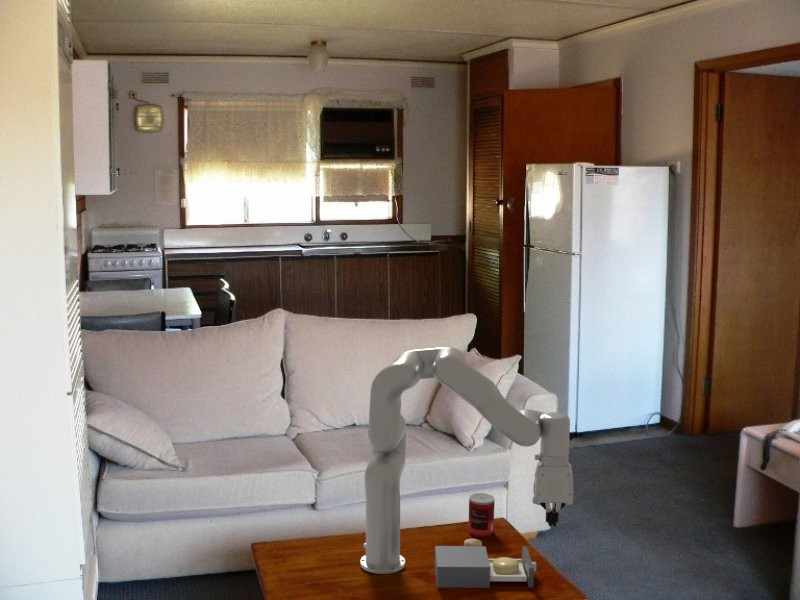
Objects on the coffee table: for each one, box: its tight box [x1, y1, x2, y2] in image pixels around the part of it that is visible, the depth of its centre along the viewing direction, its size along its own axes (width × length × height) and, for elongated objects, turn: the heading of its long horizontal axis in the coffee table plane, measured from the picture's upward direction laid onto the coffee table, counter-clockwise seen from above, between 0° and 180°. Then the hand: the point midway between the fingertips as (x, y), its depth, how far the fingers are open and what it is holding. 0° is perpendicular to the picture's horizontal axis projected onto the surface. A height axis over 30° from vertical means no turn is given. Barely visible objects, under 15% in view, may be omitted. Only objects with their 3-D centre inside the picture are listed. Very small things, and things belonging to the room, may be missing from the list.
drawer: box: [488, 546, 537, 588], centre depth 253 cm, size 16×14×5 cm
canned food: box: [468, 492, 495, 538], centre depth 282 cm, size 8×8×11 cm
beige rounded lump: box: [463, 538, 483, 546], centre depth 265 cm, size 5×5×4 cm
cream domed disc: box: [493, 556, 519, 575], centre depth 253 cm, size 7×7×2 cm
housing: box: [434, 545, 491, 589], centre depth 253 cm, size 14×13×6 cm
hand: (551, 524), depth 251 cm, fingers closed
